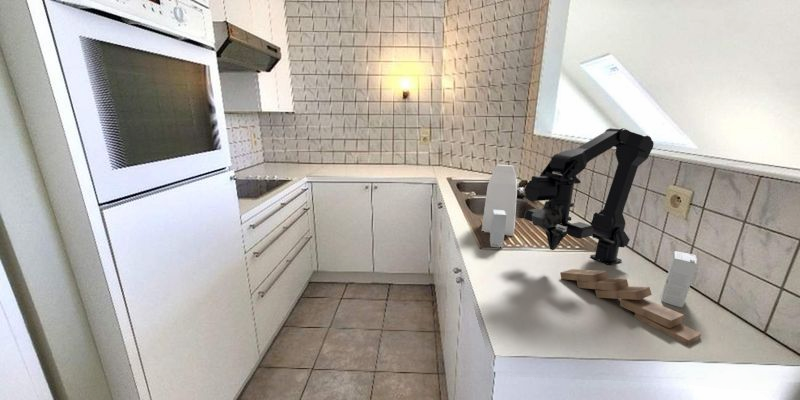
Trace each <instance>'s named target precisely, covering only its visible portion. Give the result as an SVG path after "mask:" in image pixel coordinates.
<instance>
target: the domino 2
mask: <svg viewBox="0 0 800 400" xmlns="http://www.w3.org/2000/svg"><path fill="white" fill-rule="evenodd" d="M576 284H577V288H578V289H589V290H597V289H599V290H610V291H618V290H621V289H623V288H626V287H630V286H629V283H628V279H627V278H615V277H614V278H611V277H608V278H607V279H604V280H601V281H598V282H588V281H577V280H576Z"/></svg>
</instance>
